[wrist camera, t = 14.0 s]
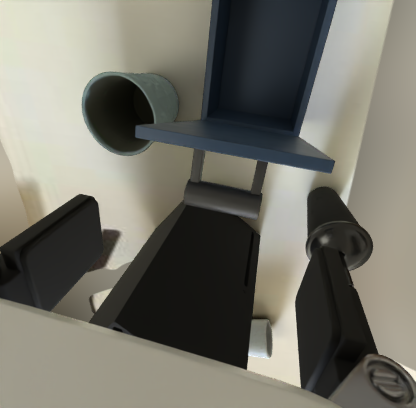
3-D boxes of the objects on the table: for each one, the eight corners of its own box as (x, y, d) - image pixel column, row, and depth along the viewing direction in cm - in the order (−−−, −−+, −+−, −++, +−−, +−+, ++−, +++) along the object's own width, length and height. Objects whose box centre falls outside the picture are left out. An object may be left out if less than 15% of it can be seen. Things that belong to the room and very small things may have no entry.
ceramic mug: (232, 312, 63) (227, 342, 56) (267, 311, 60) (266, 343, 53) (243, 341, 67) (239, 372, 61) (276, 342, 64) (276, 374, 58)
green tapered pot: (132, 58, 41) (84, 58, 31) (193, 83, 41) (164, 91, 30) (122, 121, 46) (78, 139, 36) (176, 143, 46) (146, 168, 36)
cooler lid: (135, 124, 17) (131, 202, 19) (335, 160, 16) (309, 241, 17) (200, 119, 34) (194, 160, 36) (299, 136, 33) (287, 178, 35)
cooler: (230, -34, 33) (217, -60, 26) (335, -26, 31) (351, -50, 24) (213, 111, 42) (200, 122, 35) (294, 124, 40) (297, 138, 33)
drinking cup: (354, 182, 42) (406, 265, 25) (339, 222, 46) (376, 319, 29) (304, 175, 44) (321, 250, 26) (294, 215, 47) (303, 303, 30)
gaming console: (260, 235, 51) (243, 414, 25) (209, 273, 58) (156, 439, 33) (201, 182, 48) (114, 321, 23) (155, 228, 56) (53, 372, 30)
